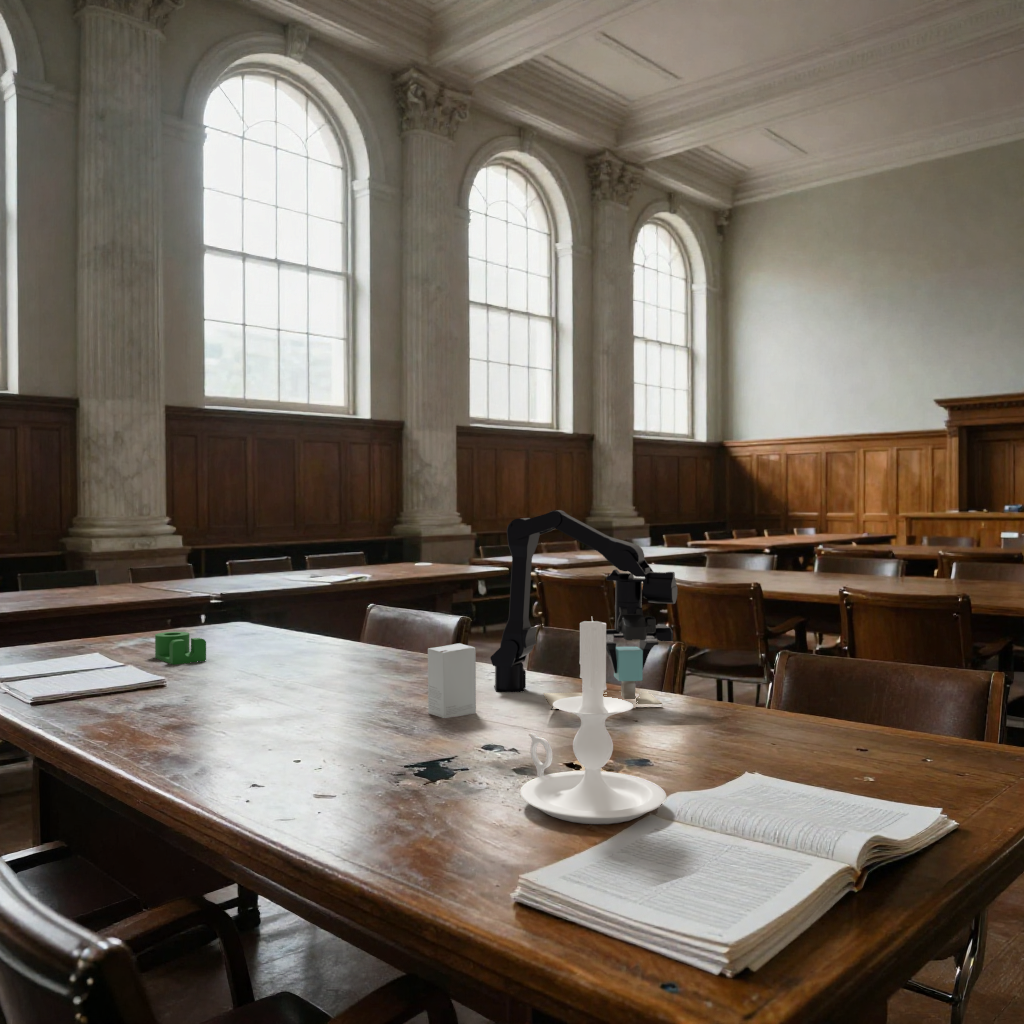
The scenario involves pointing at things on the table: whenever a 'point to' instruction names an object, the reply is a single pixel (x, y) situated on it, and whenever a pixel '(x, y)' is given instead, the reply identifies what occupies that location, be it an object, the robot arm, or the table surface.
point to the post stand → (626, 693)
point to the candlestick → (590, 753)
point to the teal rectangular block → (629, 664)
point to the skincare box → (452, 680)
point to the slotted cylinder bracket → (179, 648)
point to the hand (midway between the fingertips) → (628, 672)
